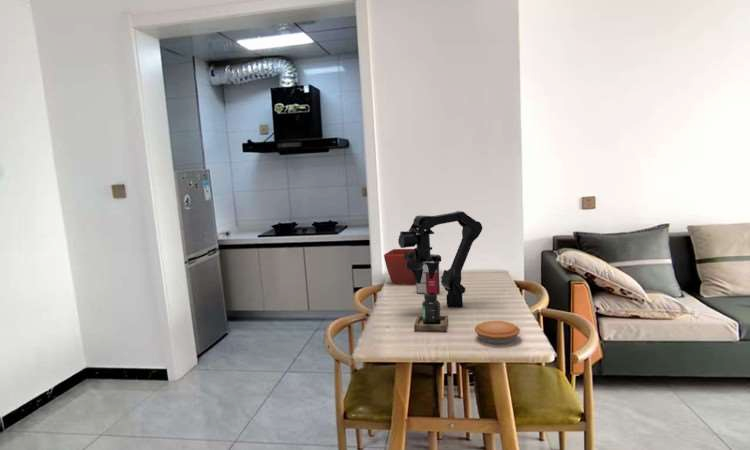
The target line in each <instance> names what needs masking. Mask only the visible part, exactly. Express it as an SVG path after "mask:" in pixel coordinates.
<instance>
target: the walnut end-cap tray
mask: <svg viewBox="0 0 750 450" xmlns="http://www.w3.org/2000/svg"><path fill="white" fill-rule="evenodd" d="M440 316H441V324H440V325H436V324H423V314H422V315H421V314H420V315H417V317H416V320H415V322H414V325H413V326H414V327H413V328H414V330H413V331H414V332H420V333H422V332H423V333H431V332H432V333H446V332H447V330H448V326H449V315H446V314H445V315H442V314H440Z"/></svg>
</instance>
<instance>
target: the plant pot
mask: <svg viewBox="0 0 750 450" xmlns="http://www.w3.org/2000/svg"><path fill="white" fill-rule="evenodd" d="M414 249H415V248H393V249H391V250H390V251H388V252H386V253H385V254H383V258H384V262H385V263H384V264H385V266H386V269H387V273H388V276H389V278H390V280H391V283H392V284H393V285H416V278H415V276H414V274H413V272H412V271H411V270H409V269H408V268H406V263H407V260H405V259H404V253H405V252H408V251H409V252H410V253H412V252H414ZM410 261H411V260H410ZM417 261H418V260H417Z"/></svg>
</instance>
